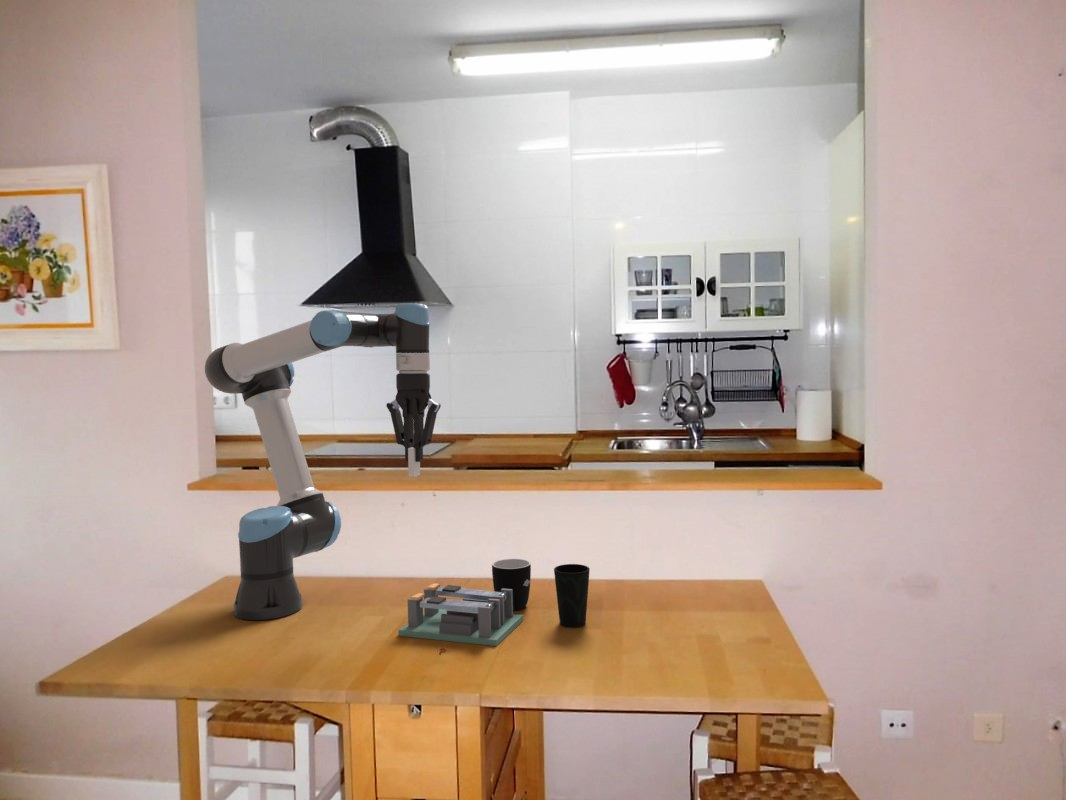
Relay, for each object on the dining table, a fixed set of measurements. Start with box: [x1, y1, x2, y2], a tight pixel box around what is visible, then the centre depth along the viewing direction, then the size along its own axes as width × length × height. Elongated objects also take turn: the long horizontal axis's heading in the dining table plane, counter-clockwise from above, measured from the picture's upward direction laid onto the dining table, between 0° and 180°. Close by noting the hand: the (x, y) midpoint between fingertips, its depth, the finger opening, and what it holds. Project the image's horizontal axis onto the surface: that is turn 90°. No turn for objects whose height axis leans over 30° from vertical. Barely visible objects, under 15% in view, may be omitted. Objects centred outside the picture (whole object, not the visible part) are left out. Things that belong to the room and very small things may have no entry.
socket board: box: [397, 583, 524, 647], centre depth 163 cm, size 22×16×8 cm
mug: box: [491, 558, 532, 612], centre depth 179 cm, size 12×9×10 cm
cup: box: [553, 563, 591, 629], centre depth 165 cm, size 8×8×12 cm
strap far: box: [436, 584, 509, 601], centre depth 166 cm, size 16×4×2 cm, turn 71°
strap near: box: [420, 596, 496, 612], centre depth 159 cm, size 16×4×2 cm, turn 71°
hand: (414, 475), depth 174 cm, fingers closed
